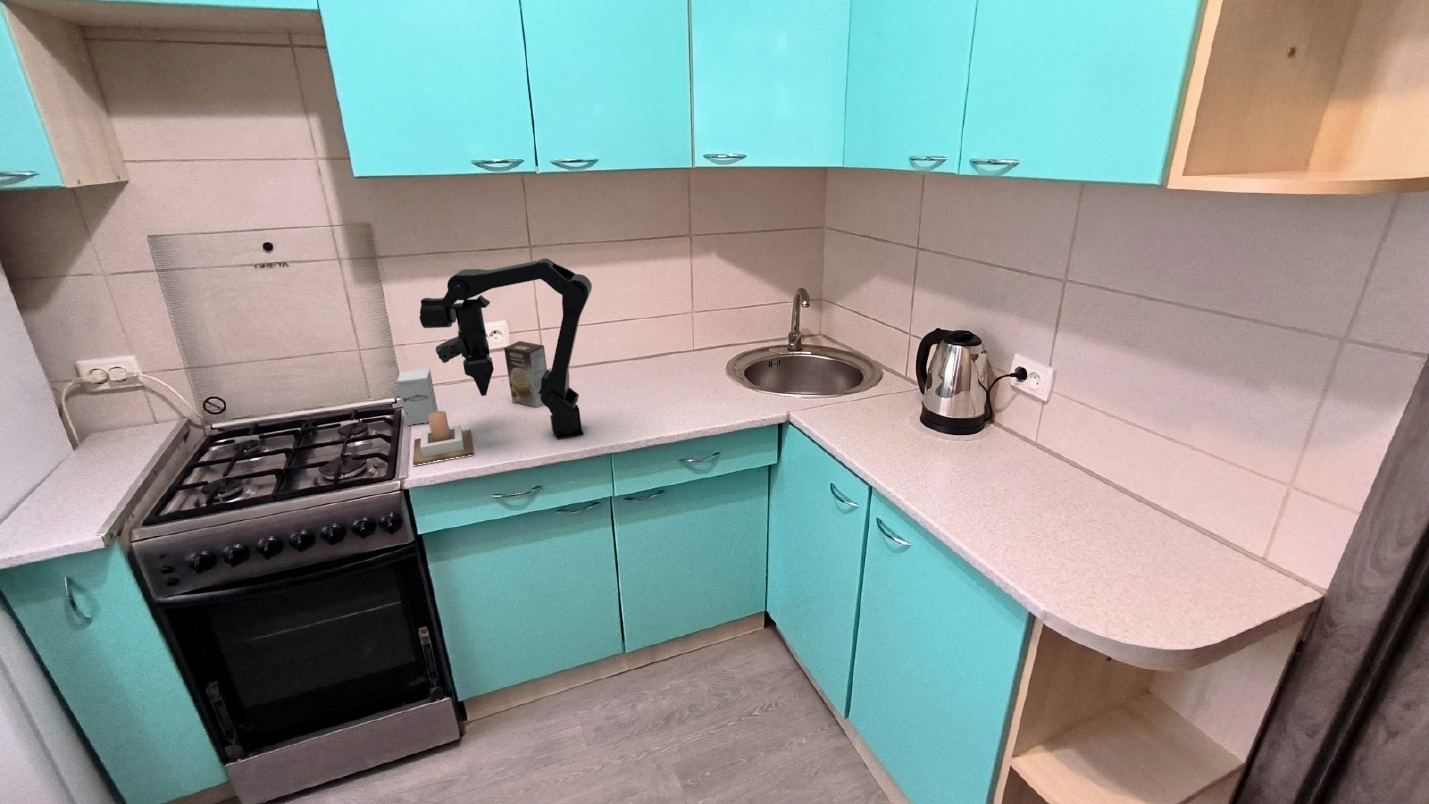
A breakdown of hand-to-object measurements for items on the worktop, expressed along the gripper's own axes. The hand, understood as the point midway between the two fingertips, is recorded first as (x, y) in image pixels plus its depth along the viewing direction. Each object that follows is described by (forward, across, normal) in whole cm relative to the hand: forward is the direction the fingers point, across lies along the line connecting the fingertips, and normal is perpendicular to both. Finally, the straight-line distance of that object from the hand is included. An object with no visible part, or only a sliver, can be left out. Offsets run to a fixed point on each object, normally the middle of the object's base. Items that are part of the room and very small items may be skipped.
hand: (482, 388), depth 161 cm
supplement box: (+13, -18, -16) cm, 27 cm away
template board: (+12, +3, -11) cm, 17 cm away
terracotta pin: (+12, +3, -11) cm, 16 cm away
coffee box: (+13, -18, +12) cm, 25 cm away
